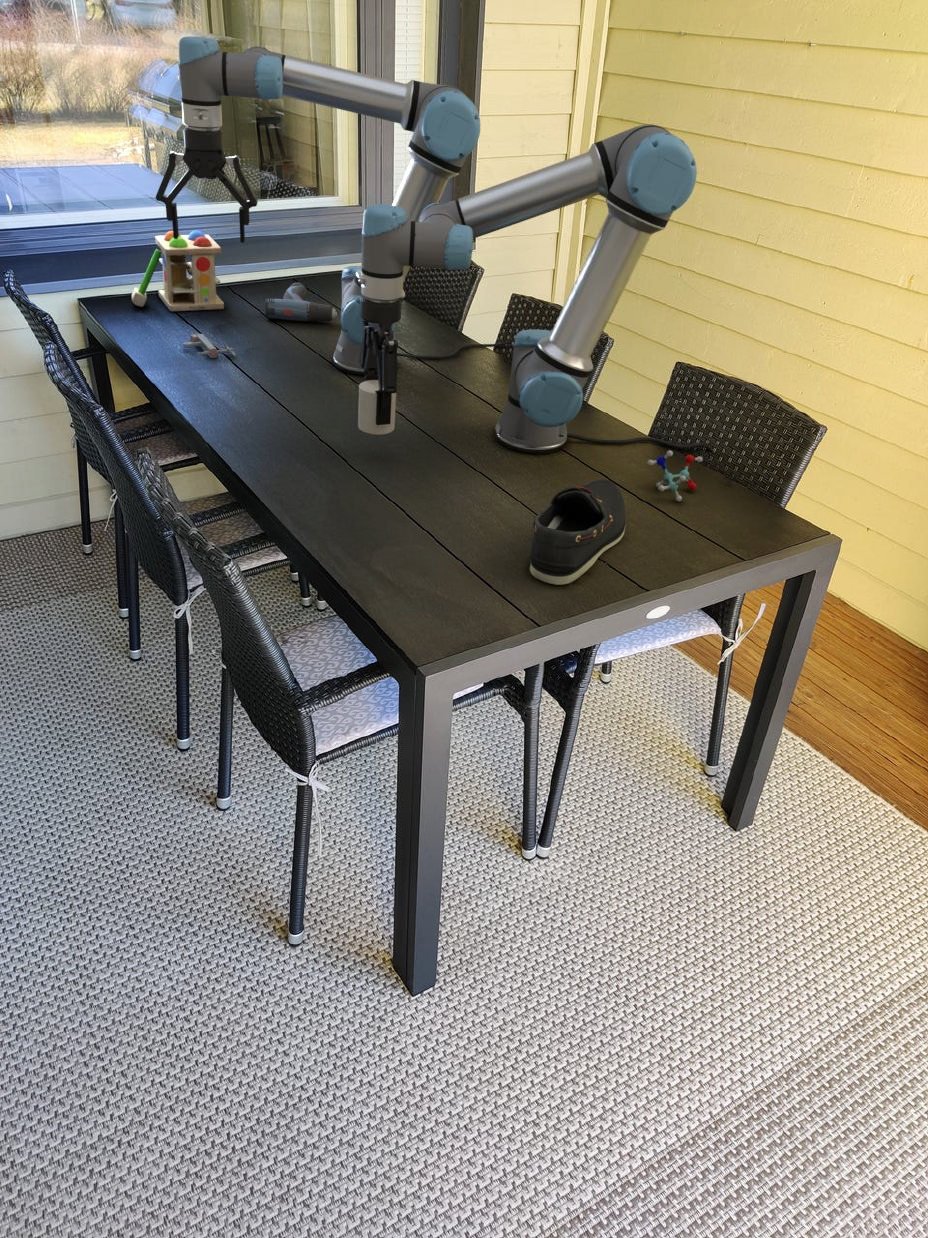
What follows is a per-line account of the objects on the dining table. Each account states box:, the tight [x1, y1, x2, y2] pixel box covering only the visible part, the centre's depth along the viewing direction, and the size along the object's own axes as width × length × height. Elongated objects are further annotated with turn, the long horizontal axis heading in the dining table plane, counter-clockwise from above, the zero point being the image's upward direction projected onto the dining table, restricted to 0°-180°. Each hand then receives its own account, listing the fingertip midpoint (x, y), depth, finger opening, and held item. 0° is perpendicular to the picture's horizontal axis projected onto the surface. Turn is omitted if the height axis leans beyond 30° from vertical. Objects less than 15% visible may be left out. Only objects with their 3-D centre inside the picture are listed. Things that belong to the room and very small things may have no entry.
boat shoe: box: [529, 479, 627, 586], centre depth 172 cm, size 13×33×10 cm, turn 147°
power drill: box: [264, 282, 338, 322], centre depth 265 cm, size 5×19×20 cm
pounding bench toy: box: [131, 230, 225, 312], centre depth 259 cm, size 23×14×18 cm, turn 116°
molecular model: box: [646, 450, 704, 503], centre depth 192 cm, size 12×10×10 cm
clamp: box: [182, 333, 239, 359], centre depth 235 cm, size 15×2×10 cm
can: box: [357, 380, 397, 435], centre depth 190 cm, size 7×7×8 cm
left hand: (209, 239), depth 206 cm, fingers open, 13 cm apart
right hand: (376, 415), depth 191 cm, fingers closed on can, 7 cm apart
